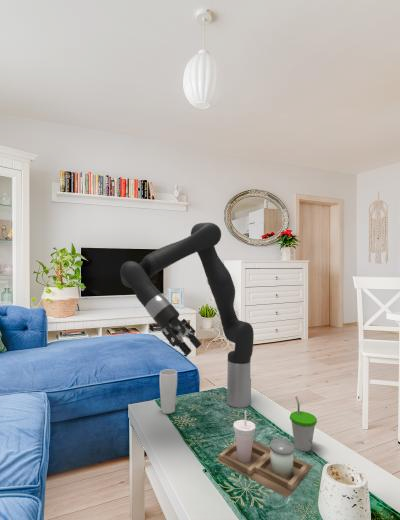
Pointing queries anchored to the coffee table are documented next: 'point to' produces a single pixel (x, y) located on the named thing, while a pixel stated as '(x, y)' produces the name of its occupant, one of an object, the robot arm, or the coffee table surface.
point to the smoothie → (244, 438)
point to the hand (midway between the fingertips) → (194, 349)
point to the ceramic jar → (281, 458)
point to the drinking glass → (168, 390)
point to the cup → (303, 429)
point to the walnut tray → (264, 468)
